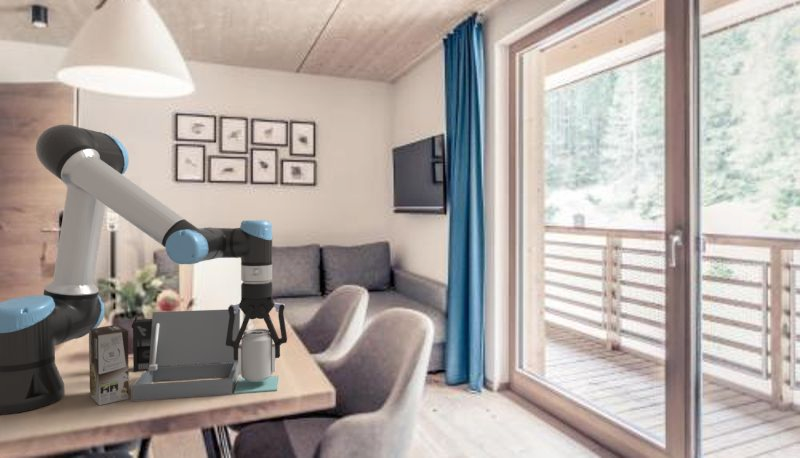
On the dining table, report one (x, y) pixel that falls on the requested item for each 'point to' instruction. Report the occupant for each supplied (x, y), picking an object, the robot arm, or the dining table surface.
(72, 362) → the dining table surface
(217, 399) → the dining table surface
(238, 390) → the pad
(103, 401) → the coffee box
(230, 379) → the case
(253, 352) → the can
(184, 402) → the dining table surface
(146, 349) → the geiger counter
